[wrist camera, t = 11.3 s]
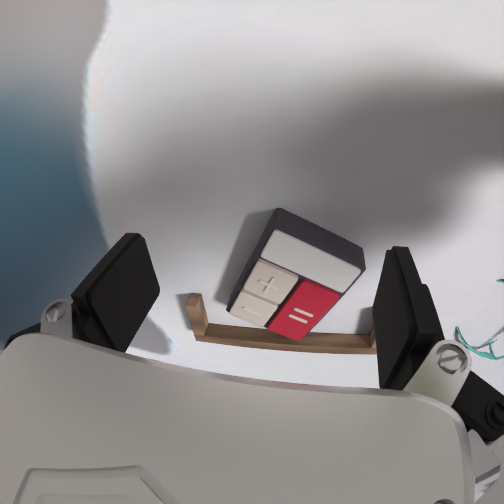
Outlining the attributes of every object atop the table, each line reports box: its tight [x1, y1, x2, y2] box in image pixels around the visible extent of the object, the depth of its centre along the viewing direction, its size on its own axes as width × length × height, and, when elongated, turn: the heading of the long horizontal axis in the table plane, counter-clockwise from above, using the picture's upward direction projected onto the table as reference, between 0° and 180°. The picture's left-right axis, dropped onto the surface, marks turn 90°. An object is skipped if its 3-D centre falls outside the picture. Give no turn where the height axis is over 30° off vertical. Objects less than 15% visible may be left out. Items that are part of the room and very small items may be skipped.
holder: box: [185, 293, 377, 354], centre depth 39 cm, size 8×27×2 cm, turn 94°
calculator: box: [226, 208, 366, 341], centre depth 34 cm, size 11×4×15 cm
